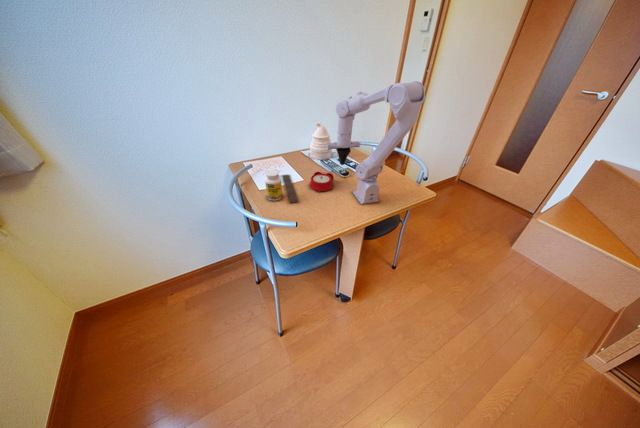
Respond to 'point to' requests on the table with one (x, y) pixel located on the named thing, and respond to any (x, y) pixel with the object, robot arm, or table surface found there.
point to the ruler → (289, 189)
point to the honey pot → (320, 143)
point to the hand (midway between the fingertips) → (341, 164)
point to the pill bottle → (273, 186)
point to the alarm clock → (321, 181)
